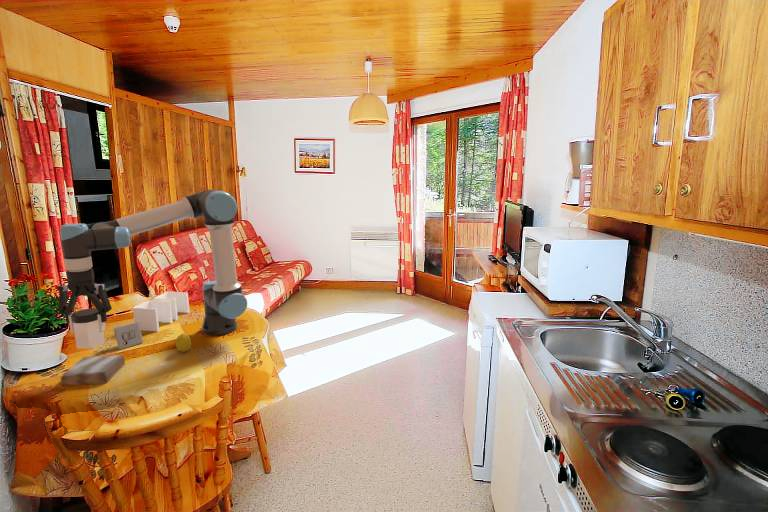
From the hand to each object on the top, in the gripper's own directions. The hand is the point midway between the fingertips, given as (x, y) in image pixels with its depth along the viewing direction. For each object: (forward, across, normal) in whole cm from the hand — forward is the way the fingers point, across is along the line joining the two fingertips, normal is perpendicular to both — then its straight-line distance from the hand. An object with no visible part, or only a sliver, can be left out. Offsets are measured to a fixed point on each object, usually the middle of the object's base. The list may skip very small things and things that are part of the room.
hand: (88, 331), depth 144 cm
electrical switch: (+17, -1, -25) cm, 30 cm away
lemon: (+17, -26, -15) cm, 35 cm away
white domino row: (+17, -6, -52) cm, 55 cm away
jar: (+5, 0, 0) cm, 5 cm away
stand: (+17, 0, 0) cm, 17 cm away
